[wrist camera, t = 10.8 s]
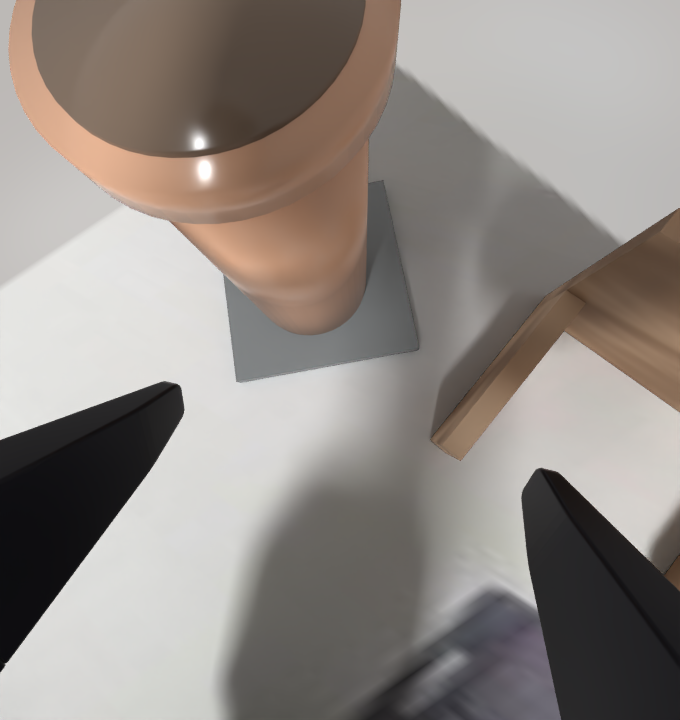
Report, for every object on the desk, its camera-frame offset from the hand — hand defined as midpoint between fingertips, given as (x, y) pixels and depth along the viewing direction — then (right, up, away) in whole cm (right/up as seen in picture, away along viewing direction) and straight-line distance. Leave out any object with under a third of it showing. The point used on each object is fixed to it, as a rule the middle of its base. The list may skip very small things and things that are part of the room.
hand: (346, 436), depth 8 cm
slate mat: (-2, +6, +11) cm, 13 cm away
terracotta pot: (-2, +6, +10) cm, 12 cm away
